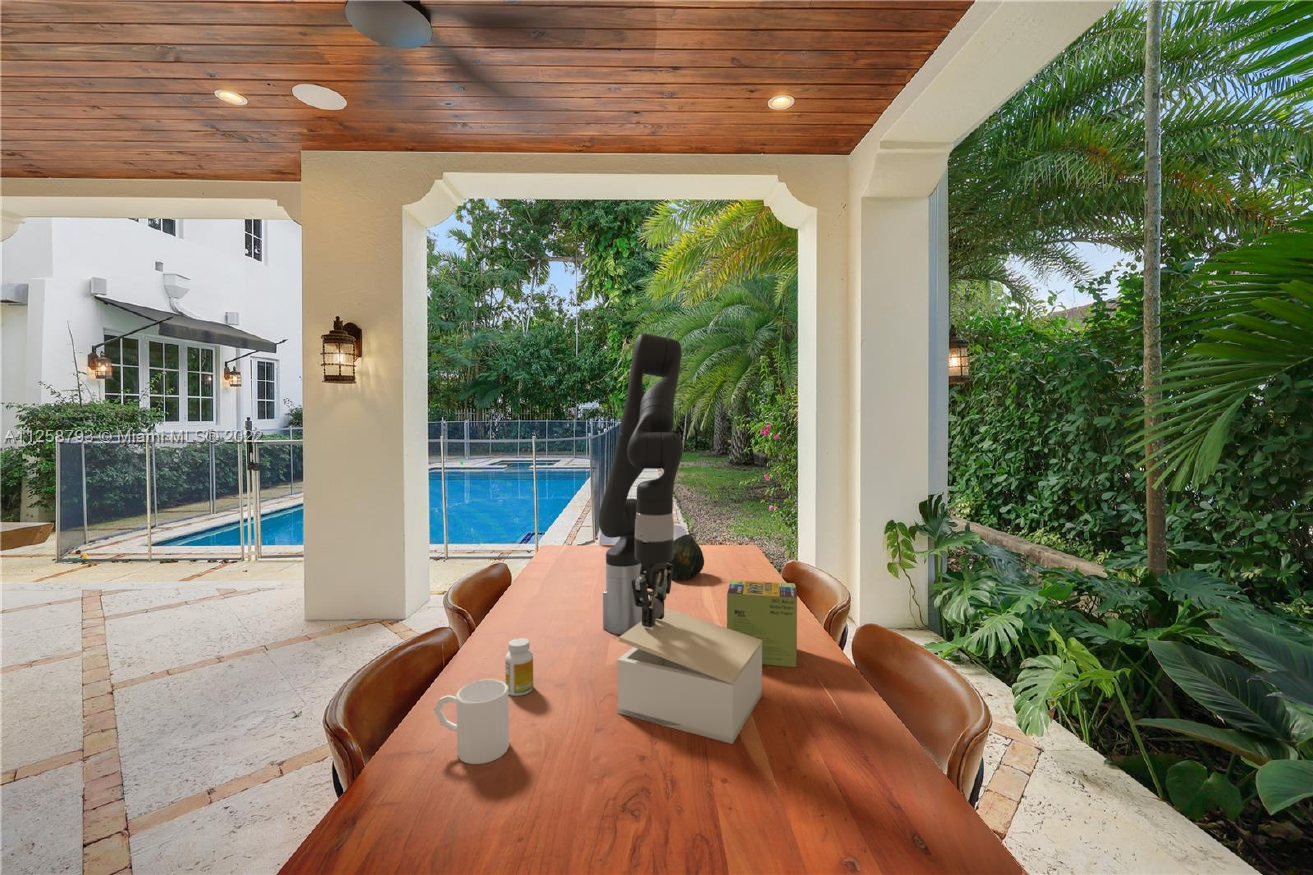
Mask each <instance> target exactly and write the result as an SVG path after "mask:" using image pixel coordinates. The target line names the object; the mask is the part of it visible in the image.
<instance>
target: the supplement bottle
mask: <svg viewBox="0 0 1313 875" xmlns="http://www.w3.org/2000/svg"><path fill="white" fill-rule="evenodd" d="M504 660H505V661H504V663H505V665H504V666H505V667H504V669H505V670H504V671H505V676H504V677H505V683H506V684H507V685H508V692H509V696H512V697H513V696H516V697H519V696H525V695H527V694H529V693H531V692H532V691H533V689H534V655H533V652H532V650H531V649H530V640H529V639H527V638H521V637H519V638H514V639H512V640H510V641H509V642H508V652H507V653H506V654H505V658H504Z"/></svg>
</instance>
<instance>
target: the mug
mask: <svg viewBox="0 0 1313 875" xmlns="http://www.w3.org/2000/svg"><path fill="white" fill-rule="evenodd" d="M509 696H510V695H509V692H508V685H507V684H506V682H505V681H502V680H499V679H495V678H494V679H492V678H489V679H488V678H487V679H479V680H475V681H472V682H469V683H467V684H465V685H464V686H462V687H461V688H460V689H459V690H458V691H457V692H456V696H455V695H454V696H453V695H451V694H447V695H445V696H442V697H439V700H438V701H437V703H436V705H435V707H434V709H433V711H434V713H435V715H436V718H437V719H438V721H439V724H440V725H441V726H442V727H445V728H447V729H448V730H450V731H454V732H456V746H457V748H456V750H457V752H456V753H457V754H456V755H457V757H458V758H459V760H460V761H461V762H462V763H466V764H469V765H483V764H487V763H488V764H489V763H491V762H493V761H496V760H497V759H499V758H501V757H502V756H504V755H505V754H506V753H507V752H508V749H509V747H510V708H509V706H510V704H509V703H510V702H509V699H510V698H509ZM449 703H453V704H456V723H454V722H452V721H450V720H448V719H447V718H446V714H445V713H444V712H443V709H442V708H443V707H444V705H445V704H449Z"/></svg>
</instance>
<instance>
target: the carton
mask: <svg viewBox="0 0 1313 875" xmlns="http://www.w3.org/2000/svg"><path fill="white" fill-rule="evenodd" d="M616 667H617V669H616V670H617V672H616V673H617V674H616V675H617V714H620V715H624V716H627V717H630V718H634V719H638V720H643V721H646V722H649V723H654V724H657V725H660V726H663V727H667V728H670V729H674V730H675V729H676V730H678V731H682V732H686V733H690V734H694V735H698V736H701V737H705V738H708V739H712V740H716V741H719V742H723V743H726V744H730V745H733V744H734V743H735V741H736V739H737V737H738V735H739V734H740V732H741V731H742V729H743V728H744V726H745V724H746V722H747V721H748V719H749V718H750V715H752V713H753V711H754V709H755V707H756V706H757V704H758V703H759V701H760V699H761V697H762V696H763V664H762V645H761V646H760V648H759V649H758V650H757V652H756V653H755V655H754V656H753V657H752V659H751V660H750V661H749V663H748V664H747V666H746V667H745V668H744V670H743V671H742V672H741V674H740V675H739V677H738V678H737V679H736V681H735V682H734V683H733V684H730V683H728V682H725V681H722V680H720V679H717V678H714V677H712V676H709V675H706V674H704V673H701V672H699V671H696V670H693V669H691V668H688V667H685V666H683V665H680V664H677V663H675V662H672V661H670V660H667V659H664V658H662V657H659V656H656V655H654V654H651V653H648V652H646V651H643V650H640V649H638V648H635V647H633V646H632V647H631V648H630V649H628V650H627V652H624V653H623V655H621V656H620V657H618V658H617V666H616Z"/></svg>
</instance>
